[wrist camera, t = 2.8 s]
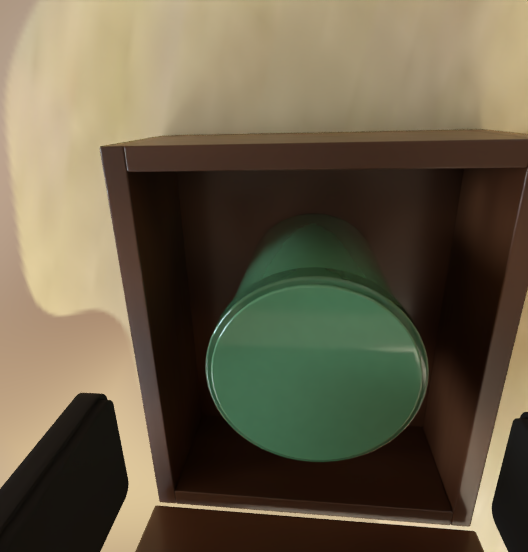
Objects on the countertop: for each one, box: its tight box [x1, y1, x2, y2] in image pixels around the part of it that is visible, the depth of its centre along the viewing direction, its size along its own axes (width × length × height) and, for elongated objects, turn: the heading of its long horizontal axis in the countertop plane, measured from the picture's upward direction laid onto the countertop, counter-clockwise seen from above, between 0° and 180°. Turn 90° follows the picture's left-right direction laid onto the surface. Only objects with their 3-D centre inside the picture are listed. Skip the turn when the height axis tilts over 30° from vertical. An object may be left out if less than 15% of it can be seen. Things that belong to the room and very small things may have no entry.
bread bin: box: [100, 129, 528, 527], centre depth 18 cm, size 16×14×6 cm
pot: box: [205, 213, 429, 462], centre depth 15 cm, size 6×6×8 cm
